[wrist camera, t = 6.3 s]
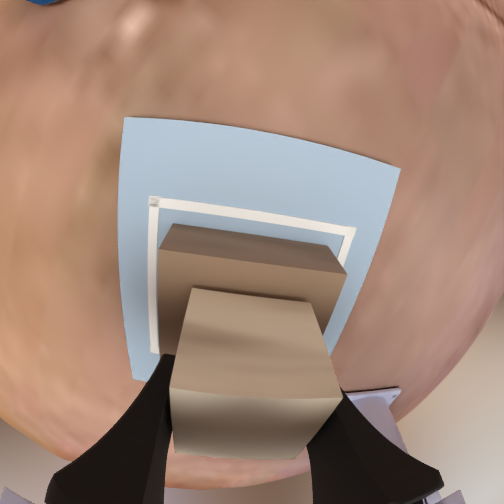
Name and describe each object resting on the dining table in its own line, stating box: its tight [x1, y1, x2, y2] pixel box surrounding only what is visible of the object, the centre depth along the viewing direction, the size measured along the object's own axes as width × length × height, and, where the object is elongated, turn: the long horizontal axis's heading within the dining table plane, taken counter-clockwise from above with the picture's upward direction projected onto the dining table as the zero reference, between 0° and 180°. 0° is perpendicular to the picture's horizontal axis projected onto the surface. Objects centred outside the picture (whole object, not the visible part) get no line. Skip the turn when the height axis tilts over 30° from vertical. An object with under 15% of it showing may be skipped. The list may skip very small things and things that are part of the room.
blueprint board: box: [118, 117, 401, 382], centre depth 16 cm, size 18×14×1 cm
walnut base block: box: [158, 223, 348, 358], centre depth 14 cm, size 8×8×3 cm
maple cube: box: [169, 288, 343, 460], centre depth 10 cm, size 5×5×5 cm
